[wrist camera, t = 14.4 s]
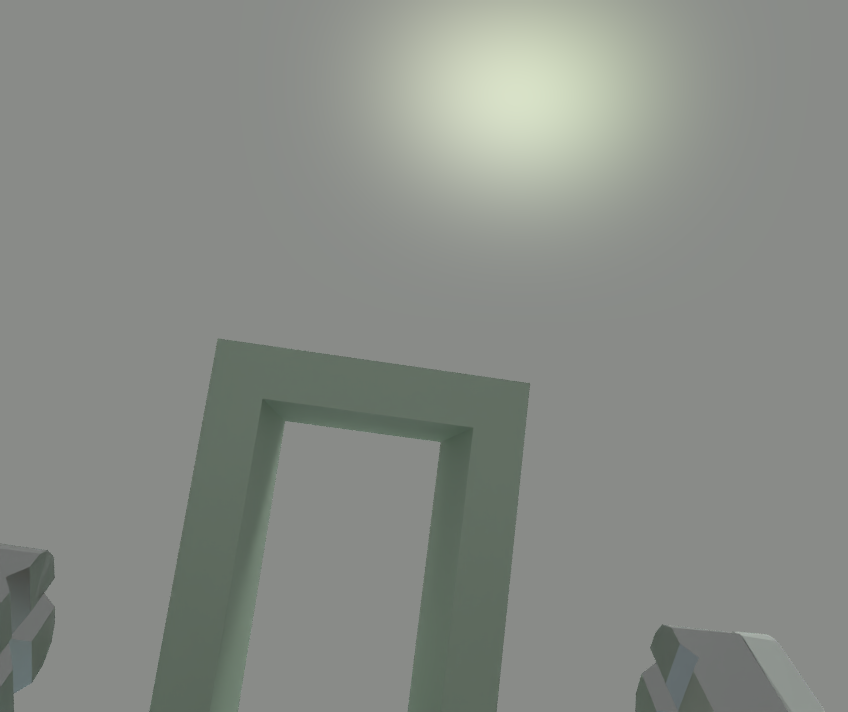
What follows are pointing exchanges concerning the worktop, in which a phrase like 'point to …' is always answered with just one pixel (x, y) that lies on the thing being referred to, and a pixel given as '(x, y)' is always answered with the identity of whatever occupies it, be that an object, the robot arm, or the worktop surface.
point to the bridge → (252, 497)
